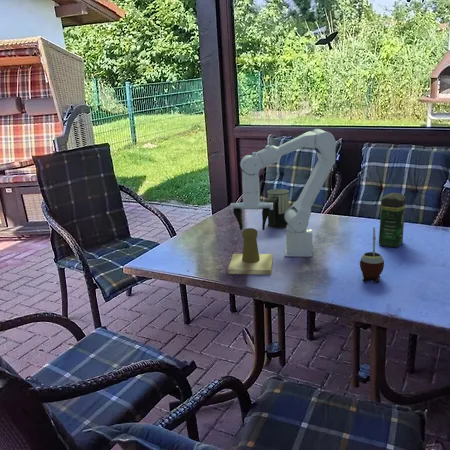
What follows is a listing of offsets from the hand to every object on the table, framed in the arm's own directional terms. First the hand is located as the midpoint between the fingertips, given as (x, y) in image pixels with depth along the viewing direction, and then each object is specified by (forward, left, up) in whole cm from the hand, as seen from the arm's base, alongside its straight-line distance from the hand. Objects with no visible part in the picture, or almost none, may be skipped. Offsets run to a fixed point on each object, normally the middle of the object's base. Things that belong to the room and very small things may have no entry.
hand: (252, 229), depth 170 cm
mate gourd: (-38, +17, -11) cm, 43 cm away
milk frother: (-10, -33, -11) cm, 36 cm away
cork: (0, +6, -9) cm, 11 cm away
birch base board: (0, +8, -10) cm, 13 cm away
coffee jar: (-49, -14, -11) cm, 52 cm away
